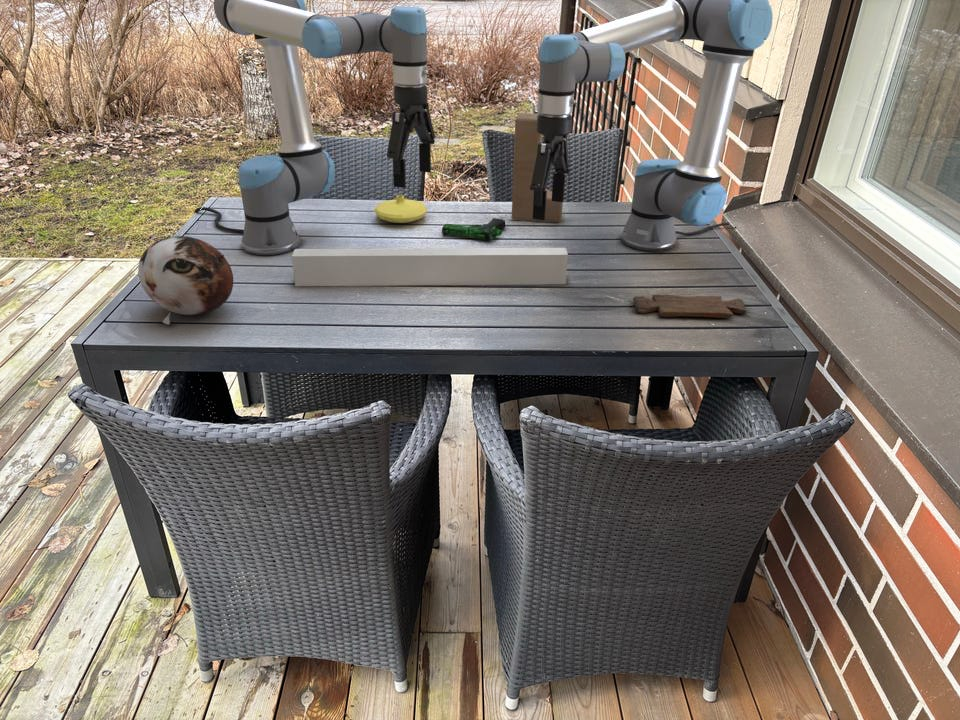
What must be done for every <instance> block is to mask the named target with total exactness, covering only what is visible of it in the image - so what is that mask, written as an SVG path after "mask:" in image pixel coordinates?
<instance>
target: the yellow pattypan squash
mask: <svg viewBox="0 0 960 720" xmlns="http://www.w3.org/2000/svg"><path fill="white" fill-rule="evenodd" d="M427 211H428V208H427V206H426V205H425V204H424V203H423V202H421V201H418V200H414V199H406V198H405V195H403V194H397V195H396V198H395V199H390V200H385V201H382V202H380V203H378V204H377V205H376V206H375V208H374V213H375V215H376V217H377V218H379V219H381V220H383V221H386V222H388V223H393V224H407V223H412V222H416V221H417V220H420V219H422V218H423V217H424V216H426V214H427Z"/></svg>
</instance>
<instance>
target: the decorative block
mask: <svg viewBox="0 0 960 720" xmlns="http://www.w3.org/2000/svg"><path fill="white" fill-rule="evenodd" d="M539 114H540V113H527V112H526V113H525V112H524V113H523V112H519V113H517V115H516V118H515V119H514V120H515V121H514V141H513V142H514V143H513V145H514V146H513V169H512V170H513V172H512V196H511V197H512V198H511V220H514V221H531V222H548V223H561V221H562V216H563V207H564V206H563V205H564V204H563V203H564V201H563V202H555V201H552V190H548V189H547V188H546V191H547V198H546V213H545V220H538V219H532V218H533V200H534V190H530V186H531V183H532V178H533V173H534V167H535V162H536V157H537V150H538V143H542V142H543V141H542V140H543V135H542V134H539V133H538V132H537V130H536V129H537V116H538V115H539ZM538 185H540V184H538Z"/></svg>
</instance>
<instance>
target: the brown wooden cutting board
mask: <svg viewBox="0 0 960 720" xmlns="http://www.w3.org/2000/svg"><path fill="white" fill-rule="evenodd" d="M651 297H652V298H649V297H646V296H643V295H642V296H639V295H638V296H634V297H633V298H632V300H633V303H634V307H635V310H636V312H637V313H638V314H648V313H651V312H655V311H658V313H659V316H660V317H663V318H669V317H670V318H675V317H698V318H699V317H701V318H719V319H720V318H721V319H723V318H724V319H729V318H732V317H733V316H734V314H740V315H746V313H747V308H746V304H745V303H744V301H743V299H741V298H735V299H731V300H726V301H723V300H722V298H723V296H721V295H719V296H718V295H678V294H677V295H676V294H675V295H671V294H652V296H651Z"/></svg>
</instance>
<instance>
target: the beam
mask: <svg viewBox="0 0 960 720" xmlns="http://www.w3.org/2000/svg"><path fill="white" fill-rule="evenodd" d="M568 259H569V254H568V251H567V249H566V247H456V248H455V247H443V248H441V247H440V248H439V247H435V248H434V247H433V248H432V247H431V248H429V247H427V248H426V247H425V248H424V247H423V248H422V247H421V248H409V247H408V248H407V247H406V248H403V247H402V248H295V249H294V250H293V252H292V254H291V265H292V271H293V279H294V280H293V281H294V286H295V287H379V286H381V287H383V286H384V287H385V286H387V287H388V286H389V287H390V286H391V287H392V286H394V287H395V286H397V287H398V286H399V287H400V286H401V287H403V286H499V285H500V286H509V285H510V286H518V285H519V286H521V285H523V286H526V285H527V286H529V285H535V286H537V285H566V283H567V271H568V262H569V261H568Z"/></svg>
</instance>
